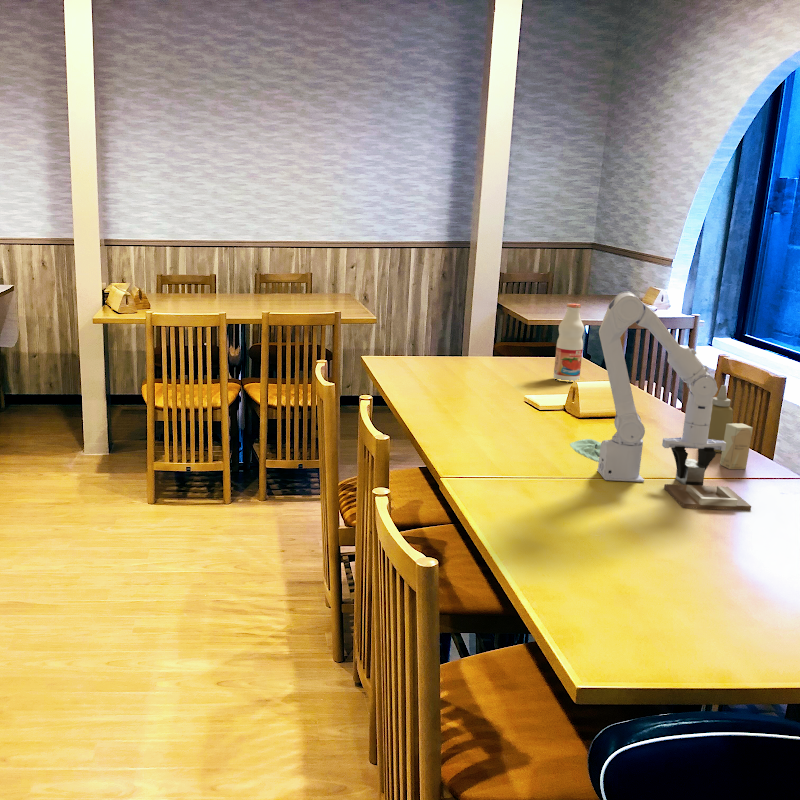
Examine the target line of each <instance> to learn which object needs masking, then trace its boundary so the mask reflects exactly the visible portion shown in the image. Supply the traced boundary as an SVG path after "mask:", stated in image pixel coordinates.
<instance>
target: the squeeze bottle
mask: <svg viewBox="0 0 800 800" xmlns="http://www.w3.org/2000/svg"><path fill="white" fill-rule="evenodd" d="M718 390H719V391H718V393H717V395H716V396H713V401H712V413H711V420H710V427H709V434H708V439H711V440H720V441H724V436H725V430H726V424H733V423H734V422H733V421H734V419H733V417H734V416H733V415H734V409H733V408H732V407H731V401H732V400H731V399H729V398H728V397H727V396H728V395H727V385H725V384H724V385H723V384H722V385H721V386H720V388H719V389H718ZM714 451H715V452H716V453H722V450H717V449H714Z"/></svg>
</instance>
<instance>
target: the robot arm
mask: <svg viewBox="0 0 800 800" xmlns="http://www.w3.org/2000/svg"><path fill="white" fill-rule="evenodd" d="M634 323H635V324H636V325H637V326H639V327H641V328H645V329H647V330H649V332H650V333H651V334H652V336H654V338H655V339H656V340H657V342H658V343H659V344H660V345H661V346H662V347H663V349H664V350H665V351H666V352H667V363H668V364H669V365H670V367H671V368H672V369H673V371H675V372H676V374H677V375H678V376H679V378H680V379H681V380H682V381H683V383H686V386H687V389H689V390H690V391H688V396H687V402H686V407H685V413H684V421H683V422H684V423H683V428H682V436H681V437H668V438H667V437H663V438H662V444H661V446H662V447H663V448H664V449H669V448H670V449H671V451H672V454H673V457H674V461H675V466H676V471H677V476H678V477H679V478H683V476H684V468H685V463H686V459H688V455H689V453H688V452H687V449H694V450H695V449H697V462H698V463H700V464H701V465H702V466H703V467H705V471H706V470H707V468H708V467H709V465H710V463H711V462H712V461H713V459H714V458H715V457H716V455H717V454H716V453H717V452H715V451H714V449H717V450H722V451H725V448H726V442H724V441H720V440H711V439H708V434H709V427H710V420H711V413H712V401H713V397H716V395H717V394H718V393H717V392H719V391H718V390H719V388H718V386H717V385H718V384H717V381H716V379H715V378H714V377H713V376H712V374H711V373H710V372H709V370H710V369H709V367H707V366H708V365H703V363H702V362H701V361H700V359H699V358H698V357H697V356H696V355H697V351H696V349H694V348H690V347H689V346H688V345H682V344H681V345H680V344H679V342H677V340H676V339H675V338H674V336H673V335H672V334H671V333H670V331H669V330H668V329H667V327H666V326H665V324H664V323H663V322H662V321H661V319H660V317H658V315H657V314H656V313H655V312H654V311H653V310H652V309H651V308H650V307H649V306H647V304H645V303H644V302H643V301H641V299H640V298H639V297H638V295H636V294H635V293H633V292H631V291H622V292H619V293H618V294H617V295H616V296H615V297H614V298H613V299H612V300H611V301H610V302H609V304H608V306H607V309H606V312H605V313H604V317H603V320H602V322H601V325H600V327H599V330H598V335H599V341H600V345H601V349H602V353H603V358H604V362H605V367H606V372H607V376H608V380H609V386H610V389H611V394H612V399H613V404H614V410H615V417H614V421H613V422H614V427H615V429H616V432H615V433H614V434H613V435H612V437H611V439H606V440H602V441H601V442H600V443H601V447H600V456H599V457H598V458H599V462H598V467H597V469H596V470H597V472H598V473H599V474H600V475H601V477H602V478H603V480H604V481H615V482H616V481H618V482H621V481H622V482H642V483H644V482H645V479H644V478H643V477H642V476H641V475H640V469H641V462H642V453H643V446H644V440H643V438H644V436H645V432H646V430H645V425H644V424H643V423H642V419H641V417H640V415H639V413H638V412H637V407H636V404H635V401H634V397H633V391H632V386H631V382H630V377H629V373H628V367H627V364H626V363H627V362H626V359H625V353H624V349H623V346H622V340H621V337H622V336H623V335H624V333H625V332H626V331H627V329H628V328H629V327H630V326H632V325H633V324H634Z"/></svg>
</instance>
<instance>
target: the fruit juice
mask: <svg viewBox="0 0 800 800" xmlns="http://www.w3.org/2000/svg"><path fill="white" fill-rule="evenodd" d="M581 306H582V305H581V304H580V303H570V302H569V303H567V304H566V312H565V314H564V317H563V319H562V320H561V322H560V323H559V325H558V334H559V335H558V338H557V340H556V346H555V357H554V368H553V379H554V378H556V379H561V380H569V381H571V380H573V381H575V380H577V379H579V380H580V377H581V370H582V369H581V367H582V358H583V349H584V340H583V336H584V332H585V326H584V325H585V324H584V323H583V321H582V318H581V314H580V310H581Z"/></svg>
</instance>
